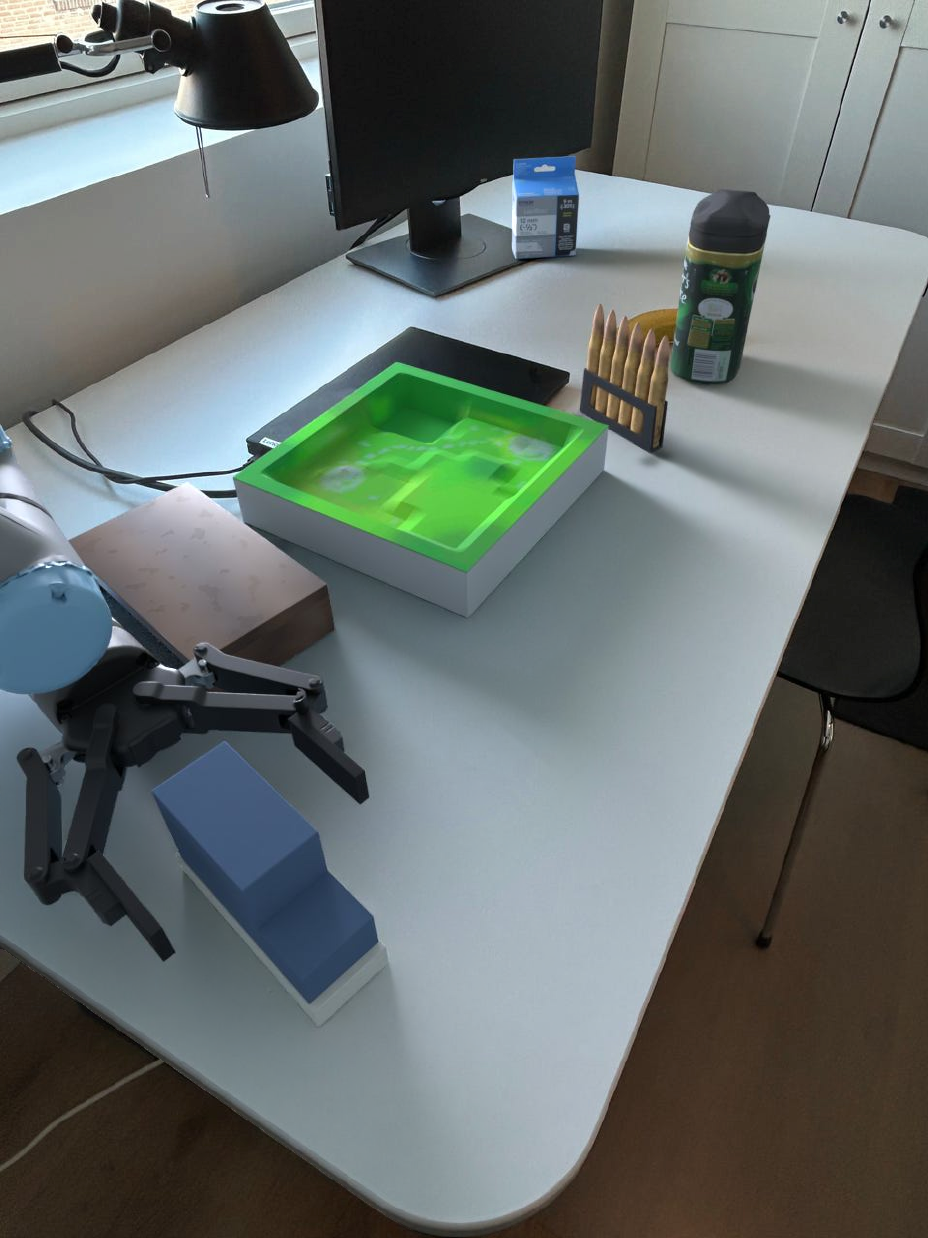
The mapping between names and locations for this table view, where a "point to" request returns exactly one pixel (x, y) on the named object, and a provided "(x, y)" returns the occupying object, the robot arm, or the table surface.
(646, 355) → the ammunition clip
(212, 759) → the block
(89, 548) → the shelf
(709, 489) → the table surface
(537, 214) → the label tape box
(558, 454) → the tray
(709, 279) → the coffee jar
